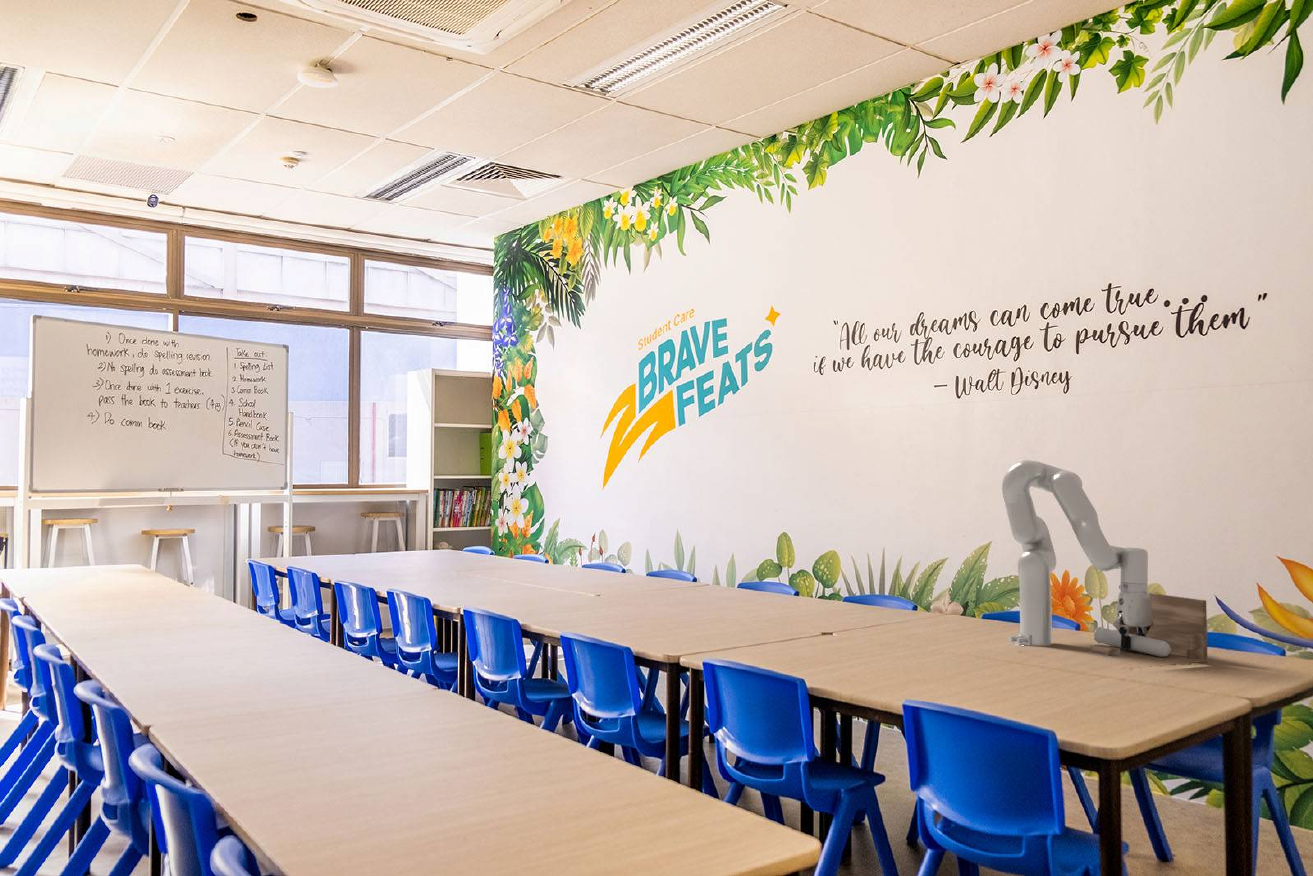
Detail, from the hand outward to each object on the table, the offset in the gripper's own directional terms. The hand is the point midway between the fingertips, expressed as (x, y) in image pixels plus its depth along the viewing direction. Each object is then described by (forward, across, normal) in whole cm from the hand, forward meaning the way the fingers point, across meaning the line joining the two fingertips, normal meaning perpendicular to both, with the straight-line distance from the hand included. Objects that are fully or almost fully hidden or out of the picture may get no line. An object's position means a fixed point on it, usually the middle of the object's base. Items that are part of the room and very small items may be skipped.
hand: (1133, 647), depth 307 cm
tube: (+1, 0, 0) cm, 1 cm away
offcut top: (+1, -11, 0) cm, 11 cm away
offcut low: (+3, -11, -1) cm, 12 cm away
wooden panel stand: (+2, +10, -1) cm, 11 cm away
